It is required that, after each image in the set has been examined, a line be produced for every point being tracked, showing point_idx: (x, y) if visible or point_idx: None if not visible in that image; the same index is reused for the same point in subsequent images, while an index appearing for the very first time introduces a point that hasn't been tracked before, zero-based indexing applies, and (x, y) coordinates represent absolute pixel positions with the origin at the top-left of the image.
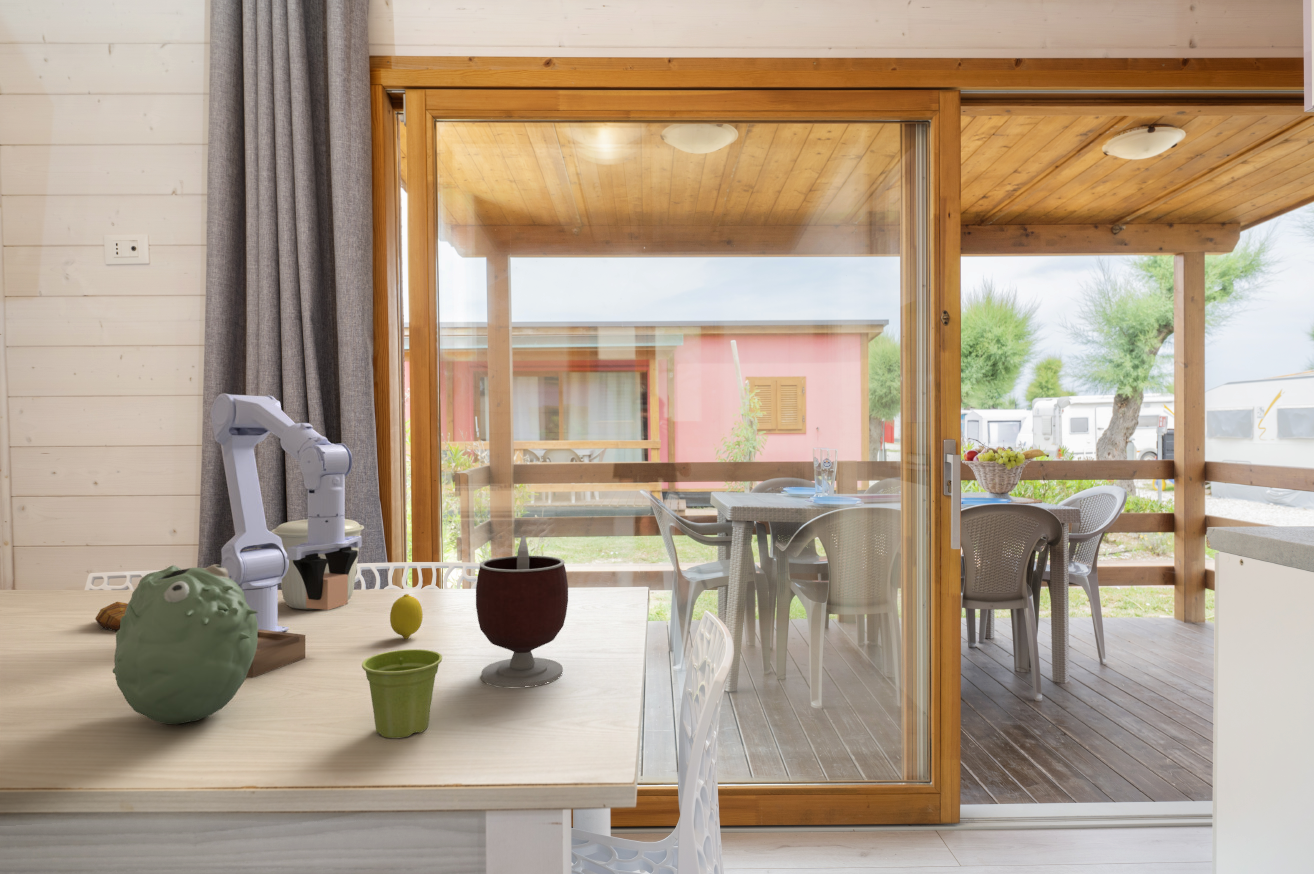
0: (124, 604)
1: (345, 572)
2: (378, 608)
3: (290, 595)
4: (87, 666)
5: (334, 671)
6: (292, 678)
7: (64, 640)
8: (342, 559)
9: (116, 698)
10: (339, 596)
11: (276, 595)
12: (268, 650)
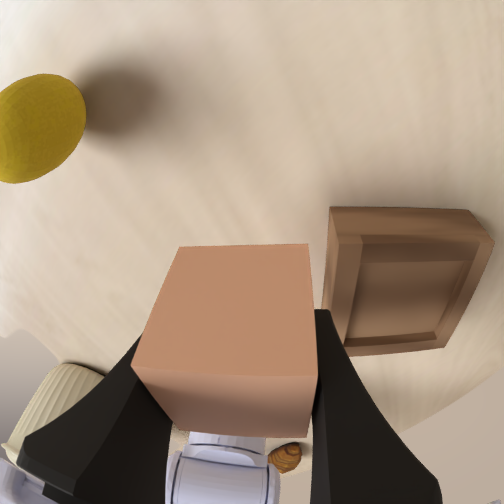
0: (278, 469)
1: (128, 386)
2: (35, 316)
3: None
4: (414, 401)
5: (397, 50)
6: (464, 121)
7: None
8: (119, 466)
9: None
10: (223, 277)
11: None
12: (456, 237)
